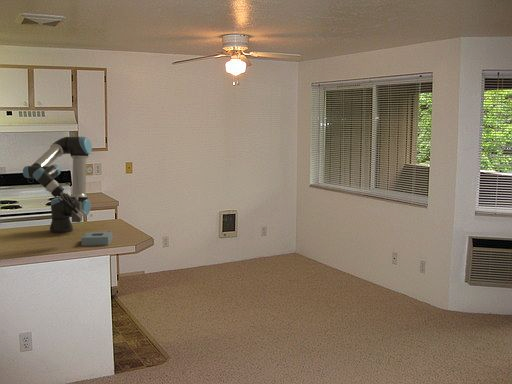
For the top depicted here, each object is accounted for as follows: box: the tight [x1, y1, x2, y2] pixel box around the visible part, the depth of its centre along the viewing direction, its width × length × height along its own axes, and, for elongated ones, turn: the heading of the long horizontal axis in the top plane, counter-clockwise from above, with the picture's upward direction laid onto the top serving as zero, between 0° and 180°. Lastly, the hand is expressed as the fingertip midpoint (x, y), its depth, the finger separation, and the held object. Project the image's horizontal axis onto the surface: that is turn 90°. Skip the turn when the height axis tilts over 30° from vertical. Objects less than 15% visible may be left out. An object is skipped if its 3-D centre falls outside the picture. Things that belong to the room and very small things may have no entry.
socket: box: [80, 231, 114, 247], centre depth 362 cm, size 16×16×5 cm
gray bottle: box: [71, 197, 83, 223], centre depth 355 cm, size 5×5×15 cm
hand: (83, 215), depth 356 cm, fingers closed on gray bottle, 5 cm apart
